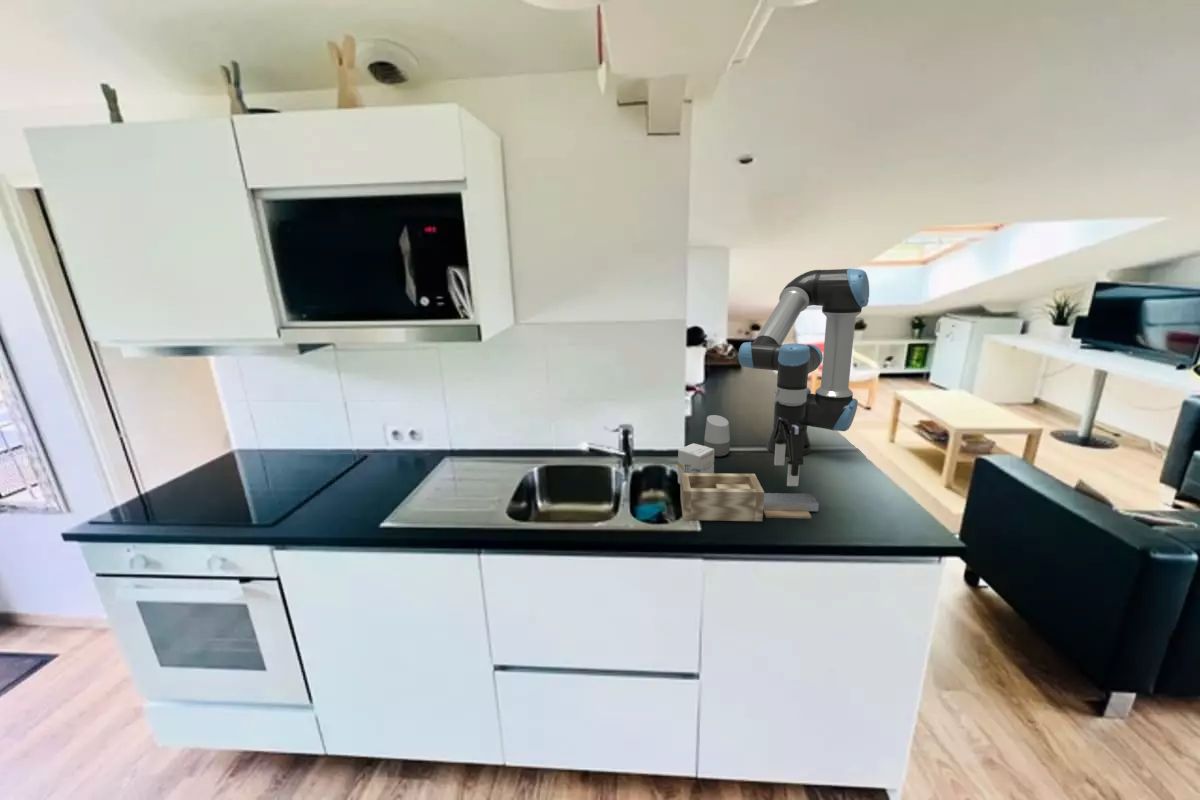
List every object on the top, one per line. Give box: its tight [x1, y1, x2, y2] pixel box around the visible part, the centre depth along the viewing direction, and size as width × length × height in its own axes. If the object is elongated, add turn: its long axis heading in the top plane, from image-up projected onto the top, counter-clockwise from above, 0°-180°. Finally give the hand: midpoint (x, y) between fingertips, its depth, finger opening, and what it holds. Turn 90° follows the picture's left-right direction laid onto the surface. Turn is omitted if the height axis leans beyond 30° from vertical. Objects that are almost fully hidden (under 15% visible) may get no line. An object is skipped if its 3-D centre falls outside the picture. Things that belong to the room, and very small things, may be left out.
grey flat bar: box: [763, 492, 820, 512], centre depth 138 cm, size 16×6×2 cm, turn 85°
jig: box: [680, 472, 765, 522], centre depth 137 cm, size 21×12×9 cm, turn 85°
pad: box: [763, 510, 812, 519], centre depth 138 cm, size 12×12×1 cm
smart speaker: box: [703, 414, 731, 458], centre depth 177 cm, size 10×9×14 cm
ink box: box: [677, 443, 715, 485], centre depth 154 cm, size 9×8×12 cm
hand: (785, 474), depth 136 cm, fingers open, 13 cm apart
